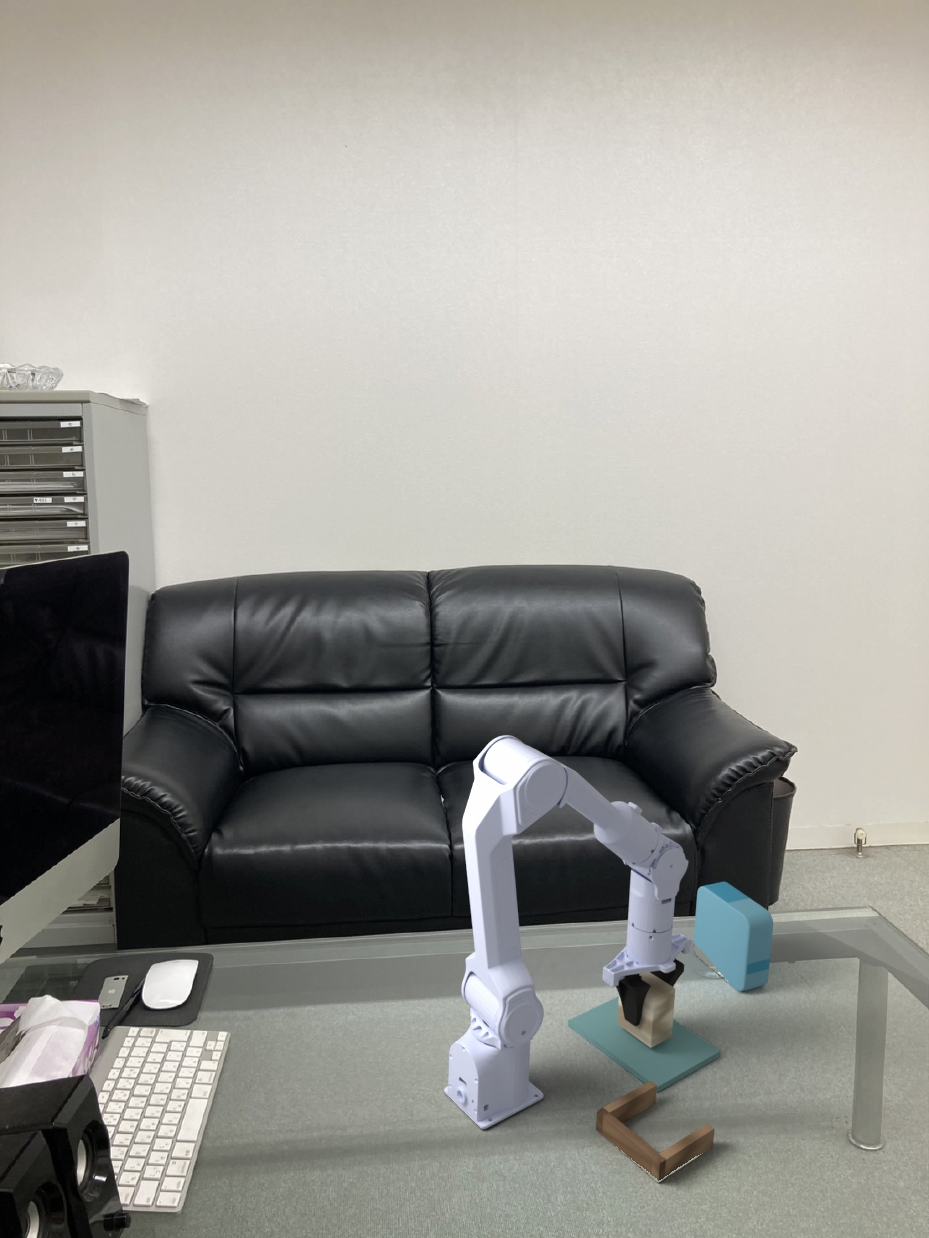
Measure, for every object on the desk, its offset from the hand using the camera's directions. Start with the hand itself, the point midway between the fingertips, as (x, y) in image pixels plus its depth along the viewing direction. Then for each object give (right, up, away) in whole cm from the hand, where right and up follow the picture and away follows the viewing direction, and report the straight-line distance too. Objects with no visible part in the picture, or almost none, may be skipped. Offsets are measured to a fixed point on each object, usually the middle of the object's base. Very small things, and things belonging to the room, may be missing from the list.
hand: (643, 1015), depth 124 cm
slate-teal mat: (0, -4, +1) cm, 4 cm away
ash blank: (0, -2, 0) cm, 2 cm away
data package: (+16, -1, +17) cm, 24 cm away
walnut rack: (-2, -7, -16) cm, 18 cm away
